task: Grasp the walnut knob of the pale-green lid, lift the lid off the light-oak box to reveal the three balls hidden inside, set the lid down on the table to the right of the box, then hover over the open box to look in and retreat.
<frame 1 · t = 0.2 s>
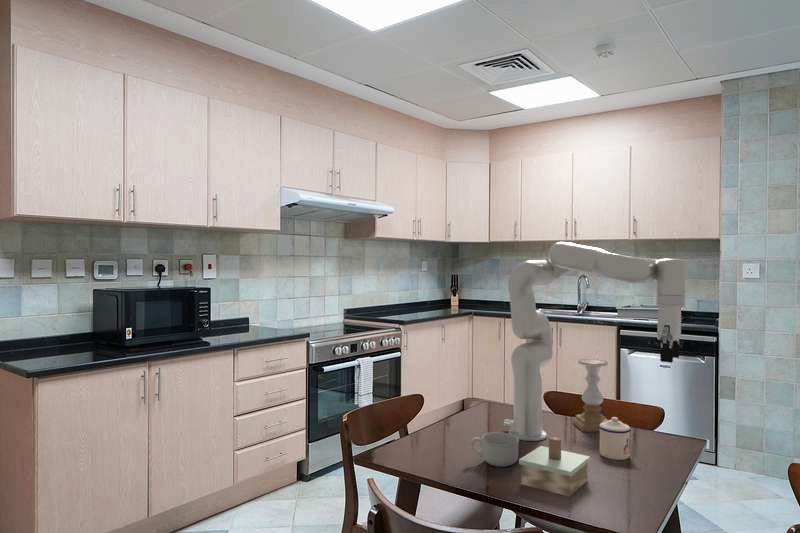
hand: (670, 359, 163), 31 cm above the table, fingers open, 9 cm apart
candle holder: (592, 427, 202), on the table
ball 3: (558, 479, 151), point 1 cm above the table, touching box
teacup: (494, 464, 164), on the table
ball 2: (560, 487, 146), point 1 cm above the table, touching box
box: (554, 484, 149), on the table
ball 1: (541, 482, 148), point 1 cm above the table, touching box
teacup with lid: (614, 454, 173), on the table
lid: (554, 462, 149), point 6 cm above the table, touching box
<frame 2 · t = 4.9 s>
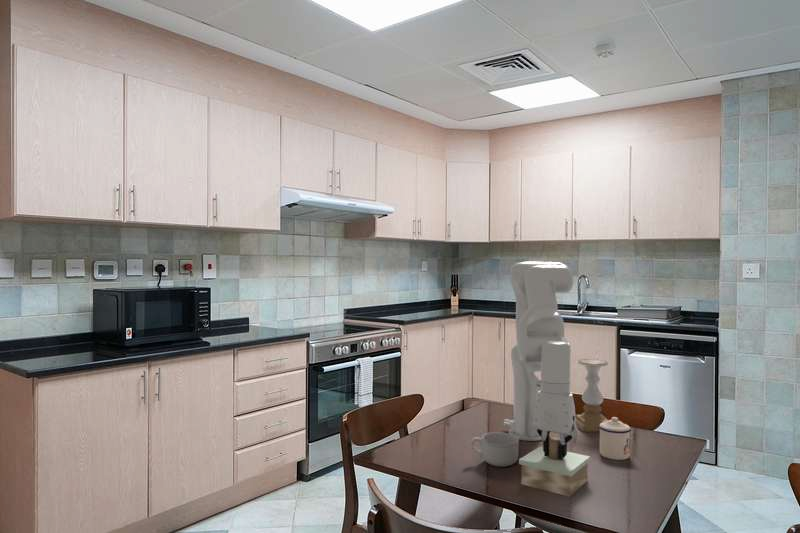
hand: (554, 455, 149), 8 cm above the table, fingers closed on lid, 3 cm apart
lid: (554, 462, 149), point 6 cm above the table, touching box, gripper
everything else where it was.
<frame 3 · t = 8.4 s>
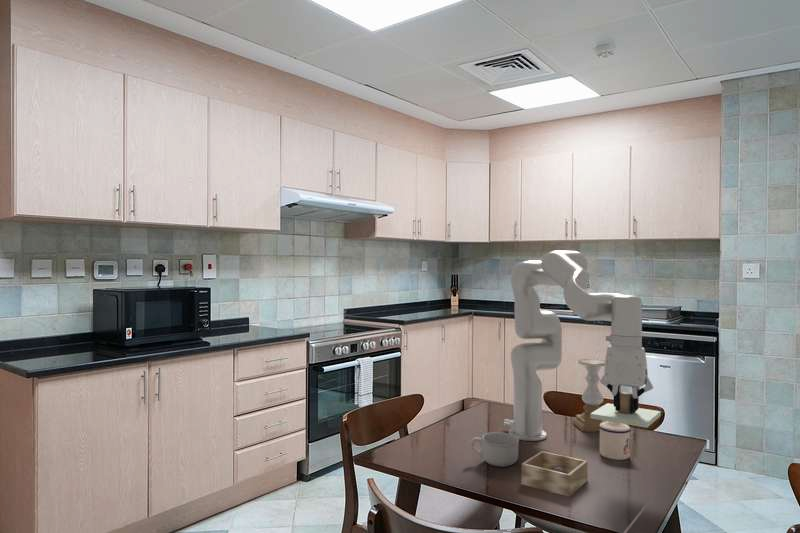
hand: (625, 410, 148), 20 cm above the table, fingers closed on lid, 3 cm apart
lid: (625, 416, 148), point 18 cm above the table, touching gripper
everything else where it was.
when the fingers open (3 cm above the table, at t = 12.0 s): lid drops 2 cm, on the table.
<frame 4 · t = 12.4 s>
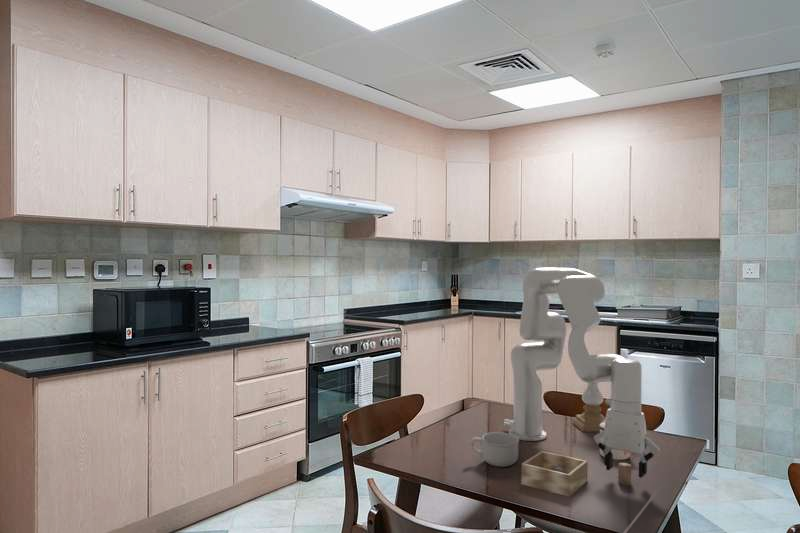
hand: (625, 472, 148), 4 cm above the table, fingers open, 7 cm apart
lid: (624, 488, 148), on the table
everything else where it was.
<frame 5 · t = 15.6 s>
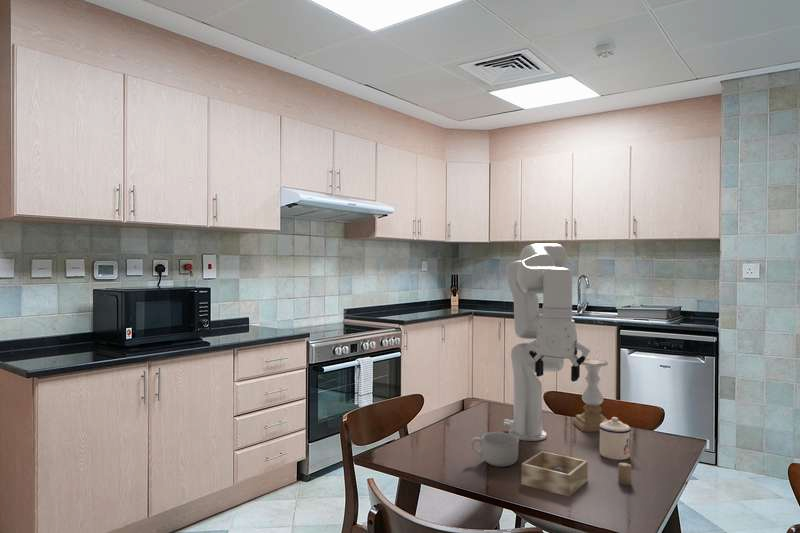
hand: (556, 378, 149), 28 cm above the table, fingers open, 9 cm apart
nothing on the table moved.
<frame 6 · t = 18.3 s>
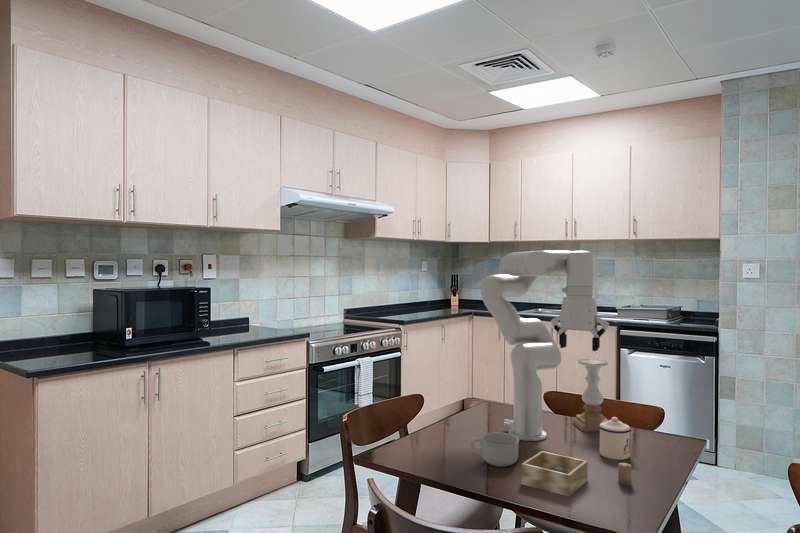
hand: (579, 349, 168), 33 cm above the table, fingers open, 9 cm apart
nothing on the table moved.
at the end: lid inside the target area (0.1 cm from its centre), on the table; lid touching table; lid tilted 0° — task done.
